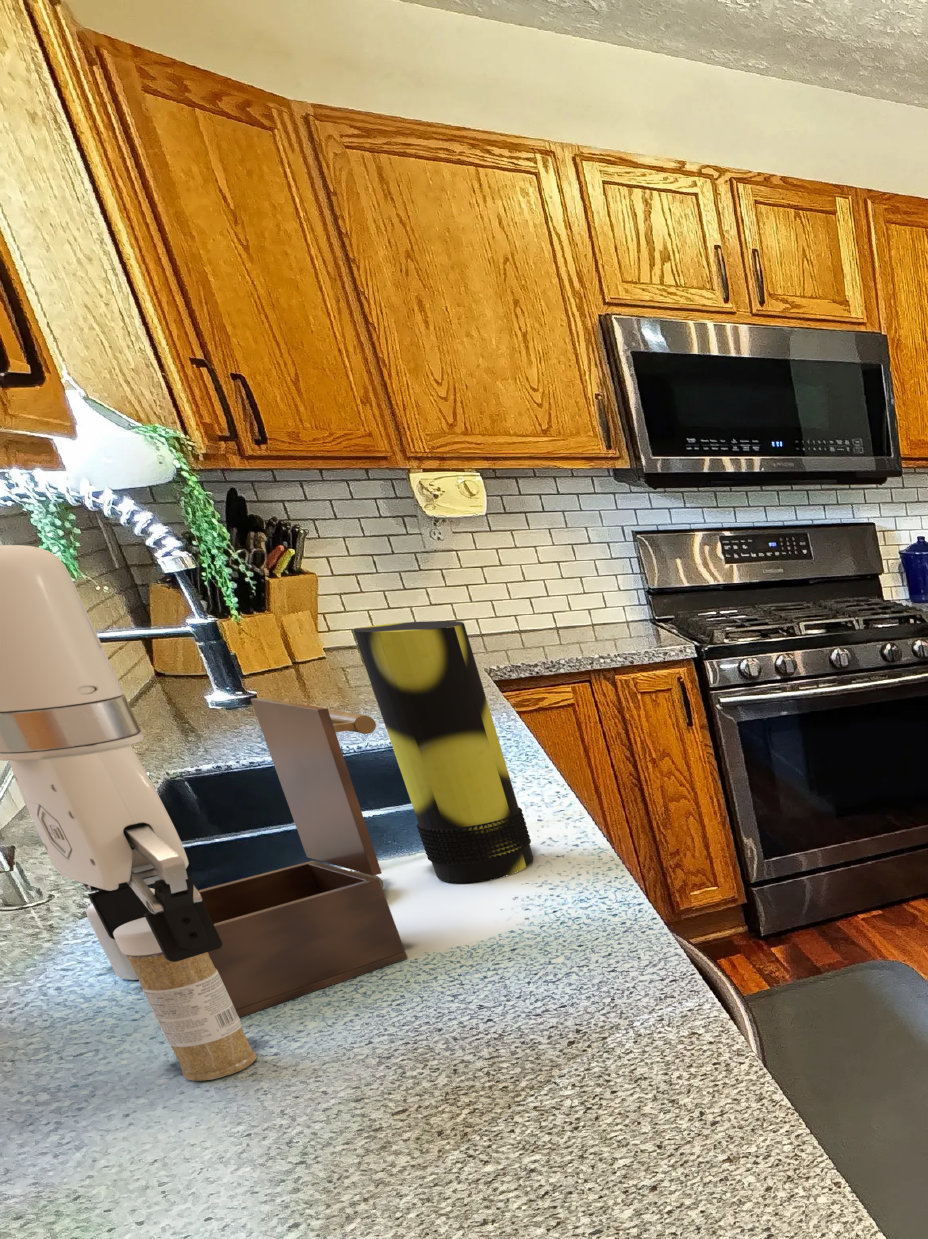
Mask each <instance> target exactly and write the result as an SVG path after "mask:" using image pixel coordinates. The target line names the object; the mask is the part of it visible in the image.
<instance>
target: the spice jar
mask: <svg viewBox="0 0 928 1239" xmlns="http://www.w3.org/2000/svg"><path fill="white" fill-rule="evenodd" d="M113 935H114V938H115V940H116V942H117V945H118V947H119V949H120V951H121V952H122V953H123V954H125V955H126V957H127V958H128V959H129V961H130V963H131V965H132V967H133V969H134V972H135V973H136V975H137V977H138V981H139V984H140V986H141V988H142V992H143V994H144V997H145V998H146V1000H147V1003H148V1004H149V1006H150V1008H151V1010H152V1013H153V1015H154V1017H155V1020H156V1022H157V1024H158V1025H159V1028H160V1030H161V1032H162V1033H163V1036H164V1038H165V1040H166V1042H167V1044H168V1045H170V1048H171V1050H172V1051H173V1053H174V1055H175V1057H176V1059H177V1061H178V1063H179V1066H180V1067H181V1069H182V1076H183V1077H184V1078H185V1079H187V1080H189V1081H198V1082H200V1081H210V1080H216V1079H217V1080H218V1079H220V1078H224V1077H226V1076H230V1075H234V1074H236V1073H238V1072H240V1071H242V1070H244V1069H246V1068H248V1067H250V1066H251V1065H252V1064H253V1063H254V1062H255V1061H256V1059H257V1054H256V1052H255V1050H254V1049H253V1048H252V1046H251V1045H250V1043H249V1041H248V1037H247V1036H246V1035H245V1034H246V1033H245V1032H244V1028H243V1027H242V1026H243V1025H242V1021H241V1019H240V1018H239V1017H238V1015H237V1012H236V1010H235V1008H234V1006H233V1003H232V1001H231V999H230V997H229V995H228V992H227V990H226V988H225V986H224V984H223V981H222V979H221V977H220V975H219V973H218V971H217V969H215V967H214V965H213V963H212V961H211V959H210V957H209V954H208V952H207V953H203V954H200V955H197V956H194V957H190V958H187V959H184V960H181V961H177V962H172V961H169V960H167V959H166V958H165V957H164V955H163V953H162V951H161V948H160V946H159V944H158V942H157V940H156V938H155V936H154V934H153V932H152V930H151V928H150V926H149V924H148V922H147V920H146V918H145V917H144V918H140V919H137V920H134V921H131V922H128V923H125V924H123V925H121V926H119V927H118V928H116V929H115V930H114V932H113Z"/></svg>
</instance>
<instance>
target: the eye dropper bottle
mask: <svg viewBox="0 0 928 1239" xmlns="http://www.w3.org/2000/svg"><path fill="white" fill-rule="evenodd" d="M149 888H150V890H151V891H152V892H153V893H154V895H155V889H154V888H151V887H149ZM85 913H86V916H87V919H88V921H89V924H90V926H91V927H92V929H93V931H94V934H95V936H96V938H97V940H98V942H99V944H100V946H101V948H102V950H103V952H104V954H105V956H106V958H107V960H108V962H109V964H110V966H111V968H112V970H113V972H114V974H115V976H116V977H117V978H119V979H122V980H128V981H129V980H130V981H137V980H138V981H139V979H138V977H137V975H136V973H135V972H134V969H133V967H132V965H131V963H130V961H129V959H128V958H127V957H126V955H125V954H123V953H122V952H121V951H120V949H119V947H118V945H117V942H116V940H114V939H112V938H110V937H109V935H108V933H107V931H106V930H105V928H104V926H103V924H102V922H101V920H100V918H99V916H98V914H97V912H96V910H95V908H94V906H93V904H92V903H91V904H89V905H88V907H87V908H86V911H85Z"/></svg>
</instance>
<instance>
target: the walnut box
mask: <svg viewBox="0 0 928 1239" xmlns="http://www.w3.org/2000/svg"><path fill="white" fill-rule="evenodd" d="M352 871H353V870H352ZM352 871H351V870H349V869H346V868H342V867H339V866H335V865H331V864H328V863H324V862H321V861H317V860H309V861H306V862H302V863H298V864H294V865H291V866H290V865H289V866H286V867H283V868H278V869H274V870H270V871H267V872H263V873H260V874H256V875H252V876H248V877H244V878H240V879H236V880H233V881H229V882H225V883H221V884H217V885H213V886H209V887H206V888H202V889H197V890H198V891H199V893H200V895H201V897H202V900H203V902H204V904H205V907H206V909H207V911H208V913H209V915H210V917H211V920H212V922H213V924H214V926H215V928H216V930H217V933H218V935H219V937H220V939H221V941H222V946H221V948H219V949H216V950H213V951H210V952H208V954H209V957H210V959H211V961H212V963H213V965H214V967H215V969H217V971H218V973H219V975H220V977H221V979H222V981H223V984H224V986H225V988H226V990H227V992H228V995H229V997H230V999H231V1001H232V1003H233V1006H234V1008H235V1010H236V1012H237V1015H238V1017H239V1019H240V1018H243V1017H246V1016H248V1015H252V1014H253V1013H256V1012H257V1013H258V1012H260V1011H262V1010H265V1009H269V1008H270V1007H273V1006H276V1005H279V1004H282V1003H285V1002H288V1001H291V1000H293V999H296V998H299V997H302V996H306V995H308V994H311V993H313V992H316V991H320V990H322V989H325V988H327V987H331V986H333V985H336V984H340V983H341V982H345V981H347V980H351V979H353V978H356V977H359V976H362V975H364V974H368V973H370V972H374V971H376V970H379V969H381V968H384V967H387V966H391V965H393V964H396V963H398V962H402V961H405V960H407V959H409V958H408V954H407V953H406V949H405V947H404V944H403V940H402V939H401V936H400V932H399V930H398V928H397V925H396V922H395V919H394V917H393V913H392V911H391V909H390V906H389V903H388V900H387V897H386V896H385V892H384V890H383V888H382V887H381V884H380V881H379V879H376V878H373V877H369V876H366V875H362V874H359V873H355V872H356V871H354V872H352Z"/></svg>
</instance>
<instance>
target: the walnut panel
mask: <svg viewBox="0 0 928 1239" xmlns="http://www.w3.org/2000/svg"><path fill="white" fill-rule="evenodd" d="M250 702H251V704H252V707H253V710H254V713H255V715H256V718H257V722H258V724H259V727H260V730H261V732H262V735H263V739H264V740H265V743H266V747H267V749H268V753H269V755H270V758H271V760H272V763H273V765H274V768H275V772H276V774H277V777H278V780H279V783H280V786H281V789H282V791H283V794H284V797H285V800H286V802H287V805H288V808H289V811H290V814H291V817H292V819H293V822H294V825H295V828H296V830H297V831H296V832H297V833H298V836H299V839H300V842H301V845H302V848H303V851H304V853H305V856H306V858H309V859H312V860H314V861H318V862H321V863H325V864H328V865H332V866H335V867H339V868H343V869H346V870H350V871H351V870H352V871H354V872H361V873H365V874H369V875H372V876H374V875H376V876H378V875H381V874H382V870H381V867H380V863H379V860H378V857H377V854H376V851H375V848H374V845H373V842H372V839H371V836H370V833H369V830H368V827H367V823H366V821H365V818H364V815H363V812H362V809H361V805H360V803H359V802H360V801H359V799H358V797H357V794H356V791H355V787H354V784H353V781H352V778H351V775H350V772H349V769H348V766H347V764H346V760H345V757H344V754H343V751H342V748H341V744H340V741H339V738H338V735H337V733H342V732H352V733H356V734H357V733H358V734H362V735H363V734H364V735H368V734H369V735H370V734H371V733H373V732H374V731H375V730H376V729H377V723H376V721H375V720H374V718H373V717H371V716H369V715H365V714H359V713H352V712H345V711H339V710H334V709H333V710H331V709H330V710H329V709H328V708H327V707H322V706H321V707H319V706H315V705H314V706H313V705H309V704H301V703H295V702H288V701H283V700H277V699H271V698H264V697H255V698H254V697H253V698H250Z"/></svg>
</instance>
